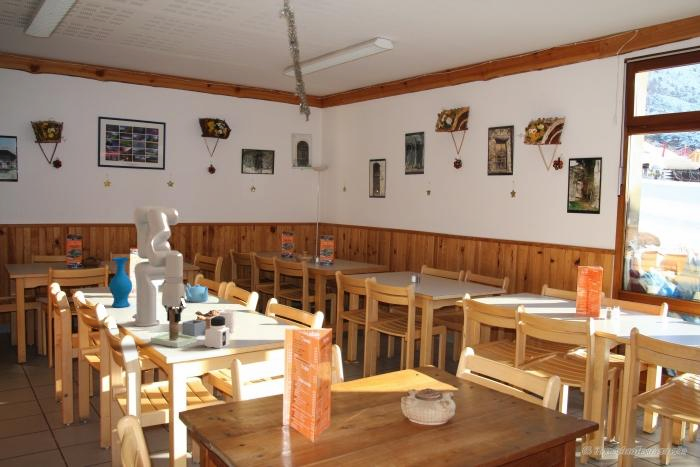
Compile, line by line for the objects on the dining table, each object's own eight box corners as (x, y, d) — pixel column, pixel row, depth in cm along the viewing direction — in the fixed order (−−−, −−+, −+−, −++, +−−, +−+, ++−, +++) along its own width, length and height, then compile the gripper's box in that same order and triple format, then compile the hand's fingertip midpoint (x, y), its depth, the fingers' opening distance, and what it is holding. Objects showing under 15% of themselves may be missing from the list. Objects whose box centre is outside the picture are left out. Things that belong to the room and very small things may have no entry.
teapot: (210, 299, 379) (211, 282, 378) (208, 303, 364) (208, 286, 364) (186, 299, 377) (186, 282, 376) (183, 303, 362) (183, 286, 362)
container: (229, 344, 268) (229, 315, 267) (220, 348, 261) (220, 319, 260) (214, 342, 271) (214, 314, 270) (204, 347, 264) (205, 317, 263)
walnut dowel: (167, 338, 270) (167, 309, 269) (173, 336, 273) (174, 308, 272) (173, 339, 268) (173, 310, 267) (180, 337, 271) (180, 309, 270)
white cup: (231, 334, 288) (231, 313, 287) (216, 333, 290) (216, 312, 289) (238, 330, 296) (238, 310, 295) (222, 329, 297) (223, 309, 297)
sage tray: (150, 342, 269) (150, 337, 269) (170, 337, 279) (170, 332, 279) (177, 347, 261) (177, 342, 261) (196, 342, 272) (196, 337, 272)
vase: (136, 306, 351) (136, 258, 349) (118, 309, 340) (117, 259, 338) (123, 303, 357) (123, 256, 355) (104, 306, 347) (104, 258, 345)
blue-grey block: (182, 334, 284) (182, 322, 284) (193, 331, 291) (194, 319, 291) (194, 337, 281) (194, 324, 280) (205, 333, 287) (206, 321, 287)
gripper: (154, 279, 269) (154, 320, 270) (181, 283, 261) (181, 325, 262) (166, 277, 276) (166, 317, 277) (194, 281, 268) (193, 322, 269)
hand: (173, 320), depth 270 cm, fingers closed on walnut dowel, 3 cm apart
